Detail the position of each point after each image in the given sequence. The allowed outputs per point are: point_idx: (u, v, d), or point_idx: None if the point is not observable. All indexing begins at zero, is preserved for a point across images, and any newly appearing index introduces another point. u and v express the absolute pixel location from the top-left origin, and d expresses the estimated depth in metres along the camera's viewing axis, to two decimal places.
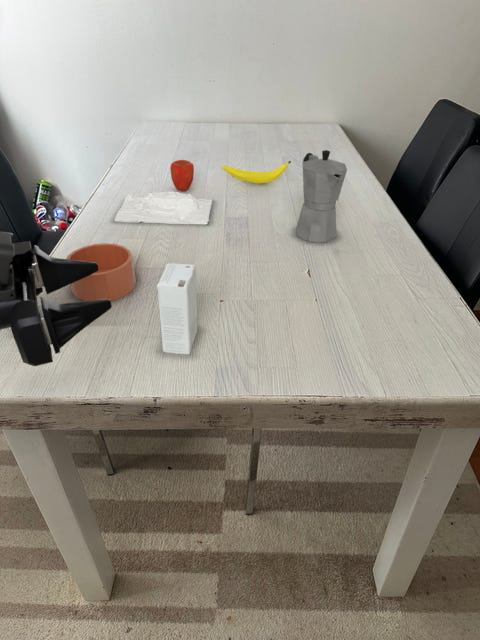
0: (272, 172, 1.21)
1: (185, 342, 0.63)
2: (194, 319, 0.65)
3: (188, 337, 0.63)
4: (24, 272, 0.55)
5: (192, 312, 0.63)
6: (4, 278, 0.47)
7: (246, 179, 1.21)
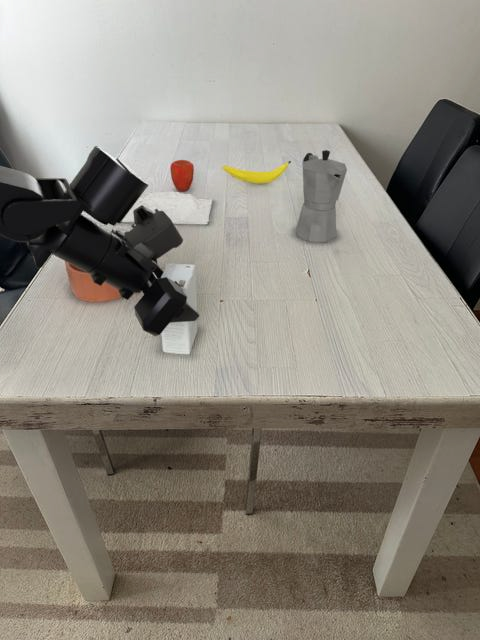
0: (272, 172, 1.21)
1: (185, 342, 0.63)
2: None
3: (188, 337, 0.63)
4: None
5: None
6: (159, 254, 0.54)
7: (246, 179, 1.21)
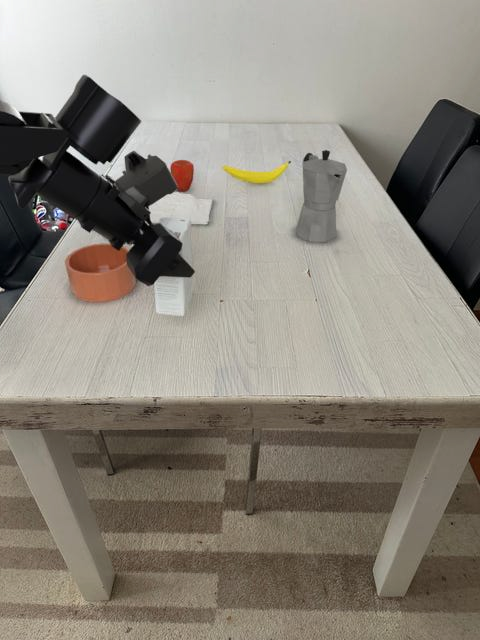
0: (272, 172, 1.21)
1: (180, 301, 0.60)
2: (189, 279, 0.62)
3: (183, 296, 0.59)
4: None
5: None
6: (153, 200, 0.51)
7: (246, 179, 1.21)
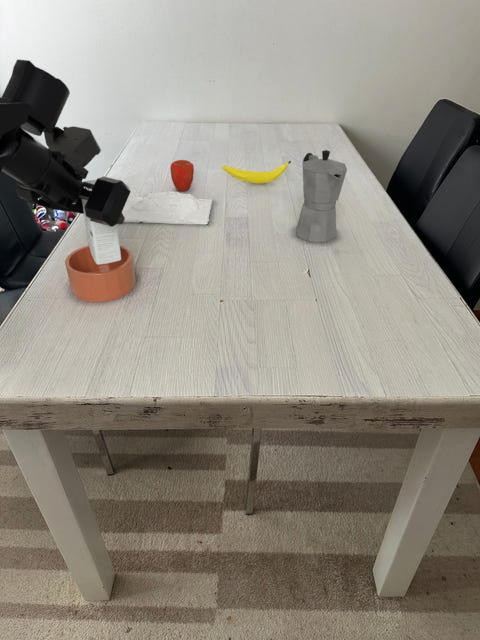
0: (272, 172, 1.21)
1: (116, 247, 0.72)
2: None
3: (118, 242, 0.72)
4: None
5: None
6: (87, 161, 0.62)
7: (246, 179, 1.21)
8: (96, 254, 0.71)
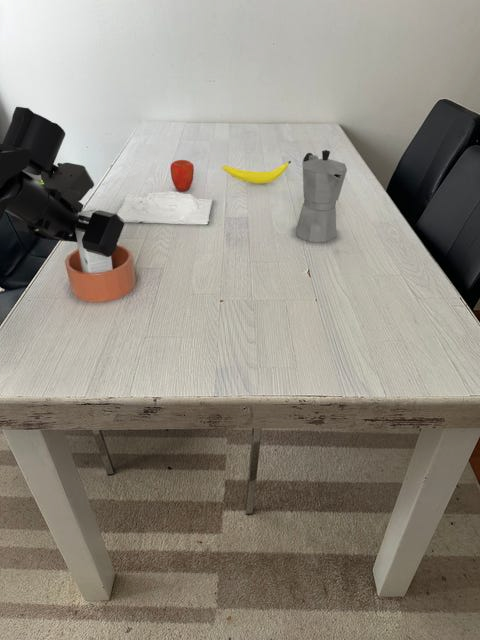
0: (272, 172, 1.21)
1: None
2: None
3: (112, 268, 0.75)
4: None
5: None
6: (82, 195, 0.66)
7: (246, 179, 1.21)
8: None
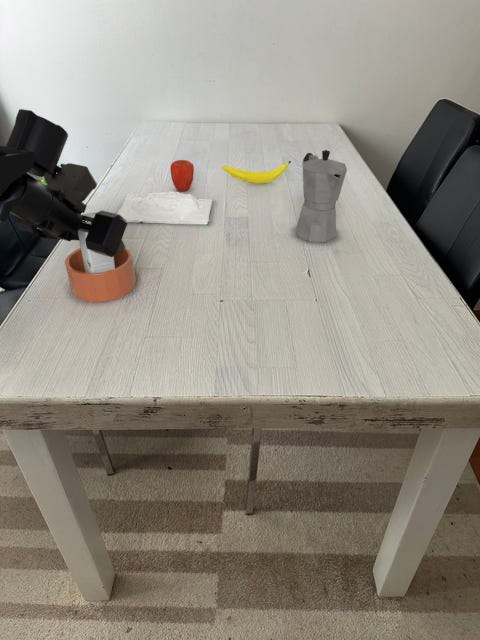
0: (272, 172, 1.21)
1: None
2: None
3: None
4: None
5: None
6: (85, 196, 0.67)
7: (246, 179, 1.21)
8: None
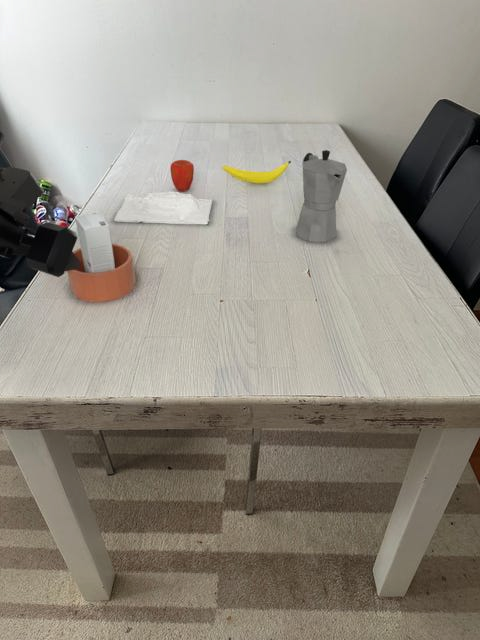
0: (272, 172, 1.21)
1: None
2: None
3: None
4: None
5: None
6: (28, 205, 0.57)
7: (246, 179, 1.21)
8: None
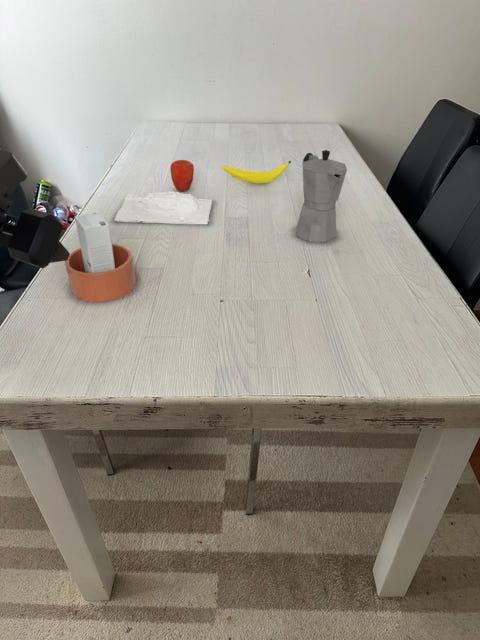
0: (272, 172, 1.21)
1: None
2: None
3: None
4: None
5: None
6: (10, 190, 0.52)
7: (246, 179, 1.21)
8: None
